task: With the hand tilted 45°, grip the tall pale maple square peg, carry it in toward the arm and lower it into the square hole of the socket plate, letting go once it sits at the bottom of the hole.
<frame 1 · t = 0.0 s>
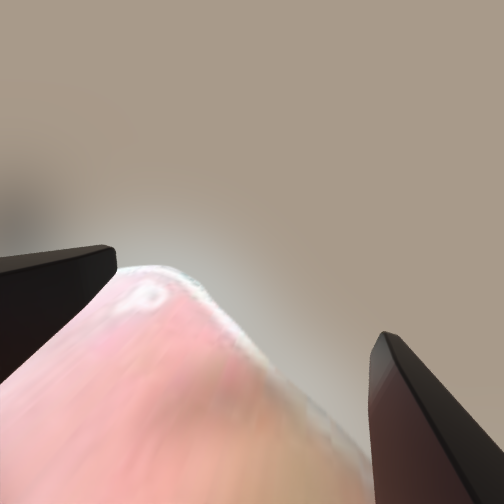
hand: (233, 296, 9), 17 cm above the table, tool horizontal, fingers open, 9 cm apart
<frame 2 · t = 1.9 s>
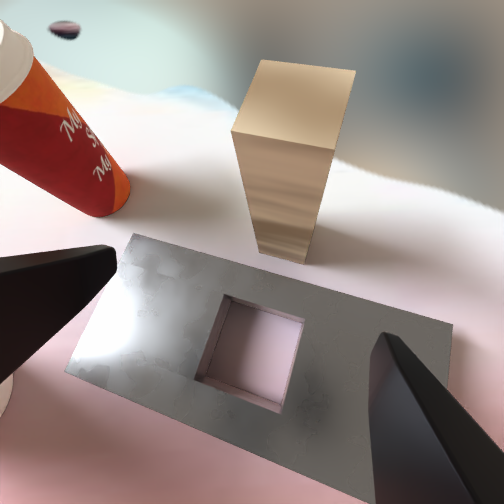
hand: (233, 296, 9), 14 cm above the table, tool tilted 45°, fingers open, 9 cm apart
paper cup: (105, 193, 28), on the table
socket plate: (254, 349, 21), on the table
maple peg: (287, 237, 24), on the table
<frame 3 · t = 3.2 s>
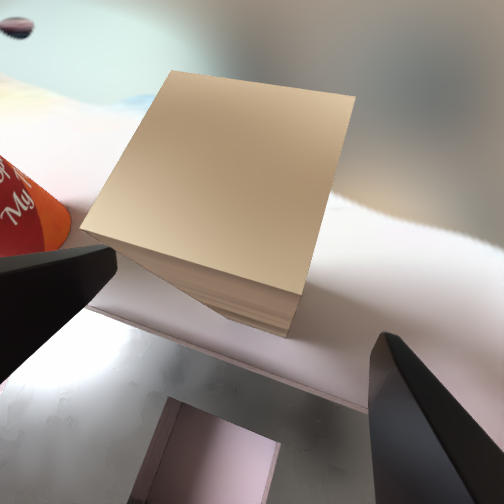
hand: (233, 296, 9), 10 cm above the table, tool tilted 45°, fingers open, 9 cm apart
paper cup: (40, 231, 22), on the table
socket plate: (214, 464, 15), on the table
maple peg: (265, 299, 18), on the table
when the fingers open (8 cm above the table, at t = 8.8 s): maple peg stays where it is, resting in socket plate.
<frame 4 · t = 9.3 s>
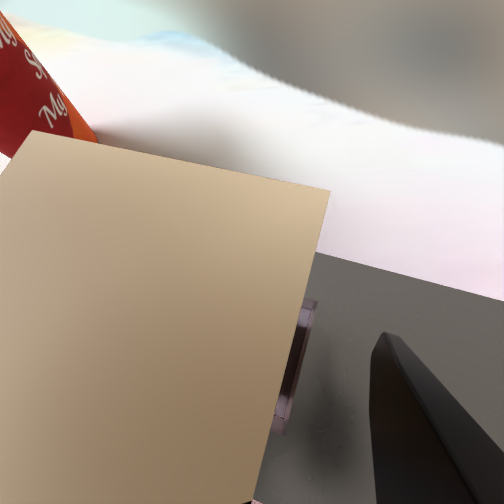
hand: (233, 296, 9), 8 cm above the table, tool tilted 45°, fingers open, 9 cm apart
paper cup: (68, 154, 23), on the table
socket plate: (248, 343, 16), on the table
maple peg: (248, 344, 16), resting in socket plate
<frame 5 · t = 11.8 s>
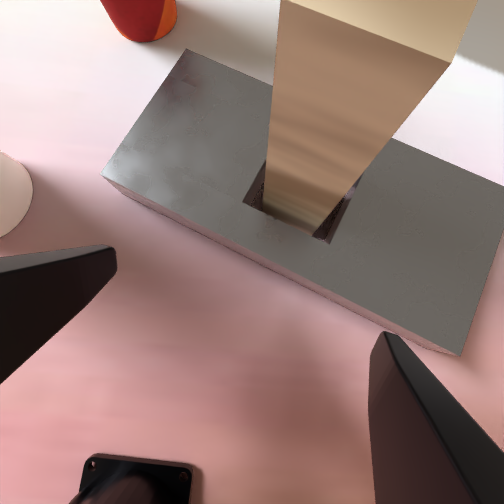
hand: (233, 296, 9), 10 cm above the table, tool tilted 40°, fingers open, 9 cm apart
paper cup: (146, 18, 24), on the table
socket plate: (297, 201, 20), on the table
maple peg: (297, 201, 20), resting in socket plate
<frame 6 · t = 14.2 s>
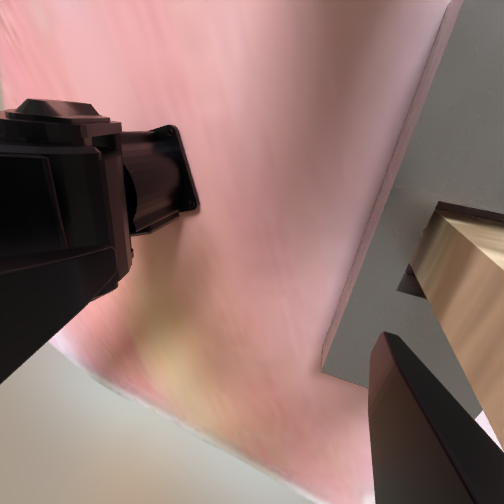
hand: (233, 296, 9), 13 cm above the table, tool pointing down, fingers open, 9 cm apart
socket plate: (452, 243, 18), on the table
maple peg: (452, 243, 18), resting in socket plate
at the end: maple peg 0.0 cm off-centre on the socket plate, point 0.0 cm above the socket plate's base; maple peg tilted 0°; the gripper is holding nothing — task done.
